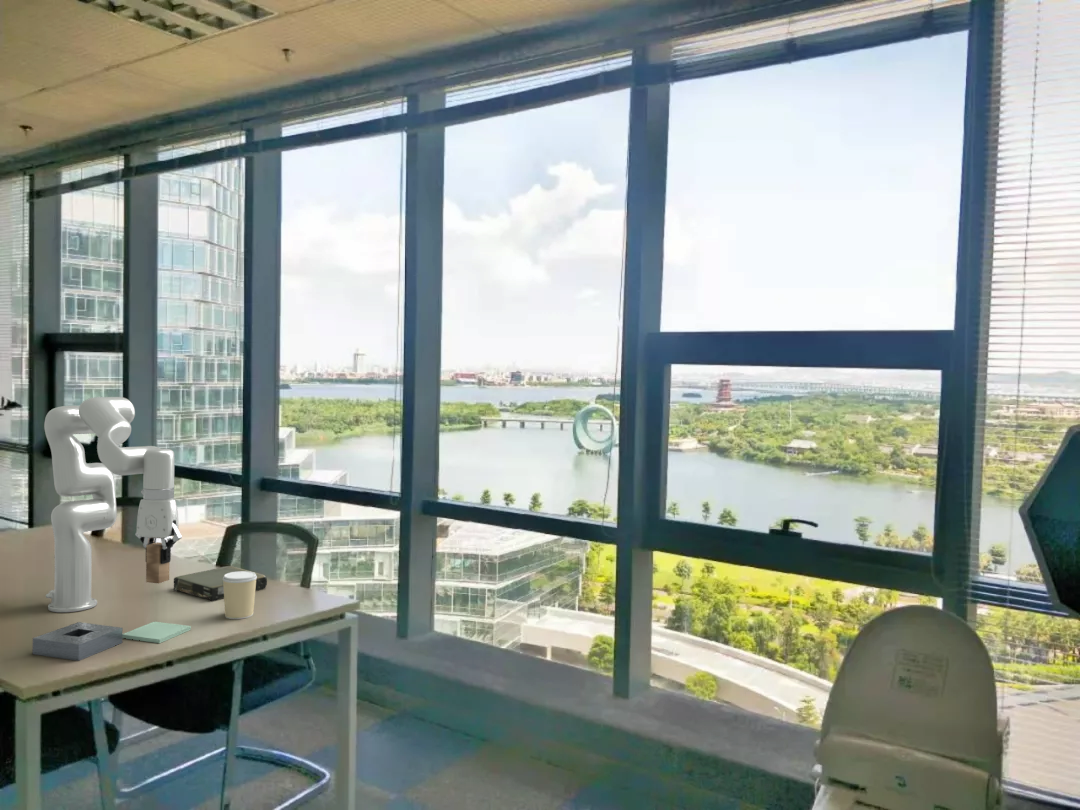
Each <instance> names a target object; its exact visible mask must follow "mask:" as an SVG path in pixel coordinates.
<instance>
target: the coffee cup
mask: <svg viewBox="0 0 1080 810" xmlns="http://www.w3.org/2000/svg"><path fill="white" fill-rule="evenodd" d="M249 571H250V570H248V571H238V572H231V573H227V574H225V575H224V577H223V583H224V598H223V599H224V601H223V602H224V613H225V614H224V615H225V616H224V617H225V618H226V619H230V620H242V619H247V618H251V617H252V616H253V615H254V607H255V599H256V591H255V589H256V579H257V576H256V574H255V573H256V572H255V573H254V571H251V572H249Z"/></svg>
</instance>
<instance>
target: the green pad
mask: <svg viewBox="0 0 1080 810" xmlns="http://www.w3.org/2000/svg"><path fill="white" fill-rule="evenodd" d="M191 630H192V626H191V625H185V624H178V623H170V622H169V623H168V622H160V621H151V622H150V623H146V624H145V625H142V626H140V627H136V628H135V629H132V630H129V631H127V632H124V633H122V639H124V638H126V640H132V639H133V640H134V641H139V640H140V641H141V642H146V643H147V642H148V643H155V644H161V643H163V642H166V641H168V640H171V639H172V638H175V637H177V636H180V635H181V634H184V633H187V632H189V631H191ZM133 640H132V641H133Z"/></svg>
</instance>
